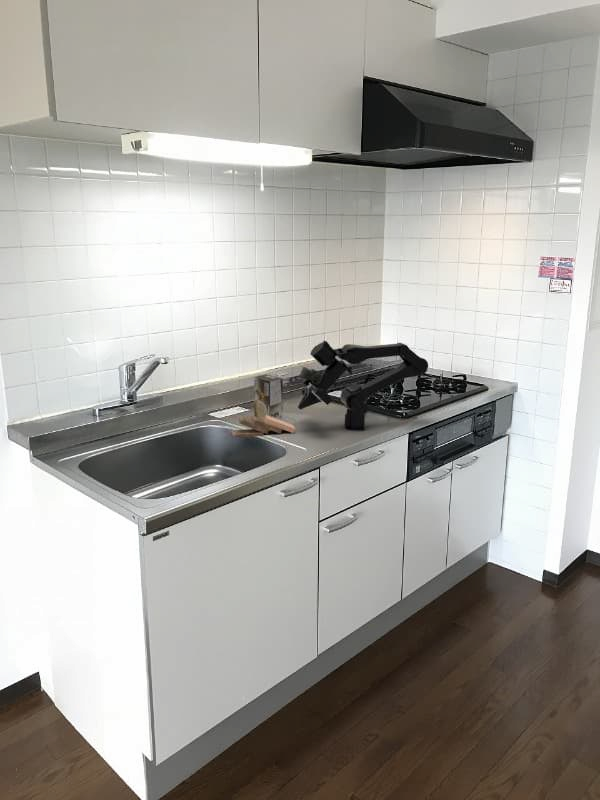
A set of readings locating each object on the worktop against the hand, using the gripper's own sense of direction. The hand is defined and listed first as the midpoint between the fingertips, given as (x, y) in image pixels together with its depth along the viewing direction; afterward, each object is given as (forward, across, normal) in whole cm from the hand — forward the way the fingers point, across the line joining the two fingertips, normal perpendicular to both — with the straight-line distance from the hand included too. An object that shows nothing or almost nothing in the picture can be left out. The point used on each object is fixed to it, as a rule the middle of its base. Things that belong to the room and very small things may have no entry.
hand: (298, 408), depth 222 cm
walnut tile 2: (+10, -1, +1) cm, 10 cm away
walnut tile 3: (+13, -1, -3) cm, 13 cm away
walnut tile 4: (+15, 0, -3) cm, 15 cm away
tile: (+6, -1, +4) cm, 8 cm away
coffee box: (+11, -14, 0) cm, 18 cm away
